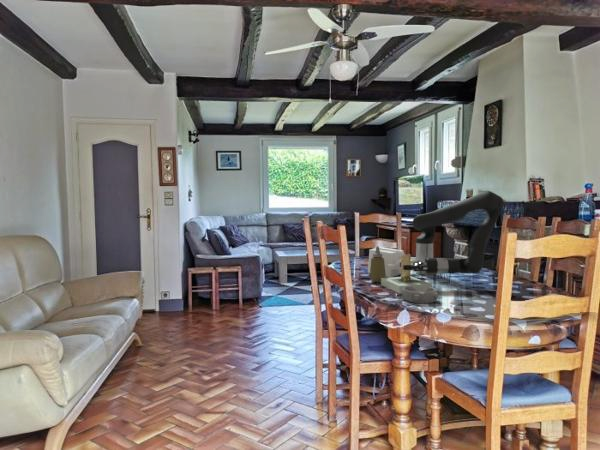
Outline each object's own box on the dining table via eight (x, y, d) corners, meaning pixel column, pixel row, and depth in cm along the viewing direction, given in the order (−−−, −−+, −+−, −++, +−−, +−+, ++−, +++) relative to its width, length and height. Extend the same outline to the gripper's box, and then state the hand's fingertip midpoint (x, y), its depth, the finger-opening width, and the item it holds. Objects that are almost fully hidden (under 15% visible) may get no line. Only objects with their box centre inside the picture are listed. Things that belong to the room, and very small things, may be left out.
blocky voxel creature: (407, 285, 216) (361, 275, 234) (428, 278, 234) (384, 269, 252) (410, 256, 214) (362, 248, 232) (431, 251, 233) (385, 244, 251)
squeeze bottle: (388, 281, 218) (388, 246, 217) (380, 283, 212) (380, 247, 211) (375, 279, 223) (375, 245, 222) (366, 281, 217) (366, 246, 216)
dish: (399, 296, 184) (399, 285, 184) (431, 296, 184) (431, 285, 183) (406, 305, 170) (406, 292, 169) (441, 304, 169) (441, 292, 169)
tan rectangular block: (399, 287, 202) (399, 253, 201) (407, 287, 203) (407, 253, 202) (403, 289, 198) (403, 255, 197) (412, 288, 199) (412, 254, 198)
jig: (381, 285, 208) (381, 277, 208) (411, 283, 212) (411, 275, 212) (399, 293, 189) (399, 285, 189) (431, 291, 192) (432, 283, 192)
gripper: (432, 255, 206) (398, 256, 207) (440, 260, 192) (404, 260, 192) (432, 271, 206) (398, 271, 207) (440, 276, 192) (404, 276, 193)
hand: (401, 266), depth 200 cm, fingers open, 8 cm apart
